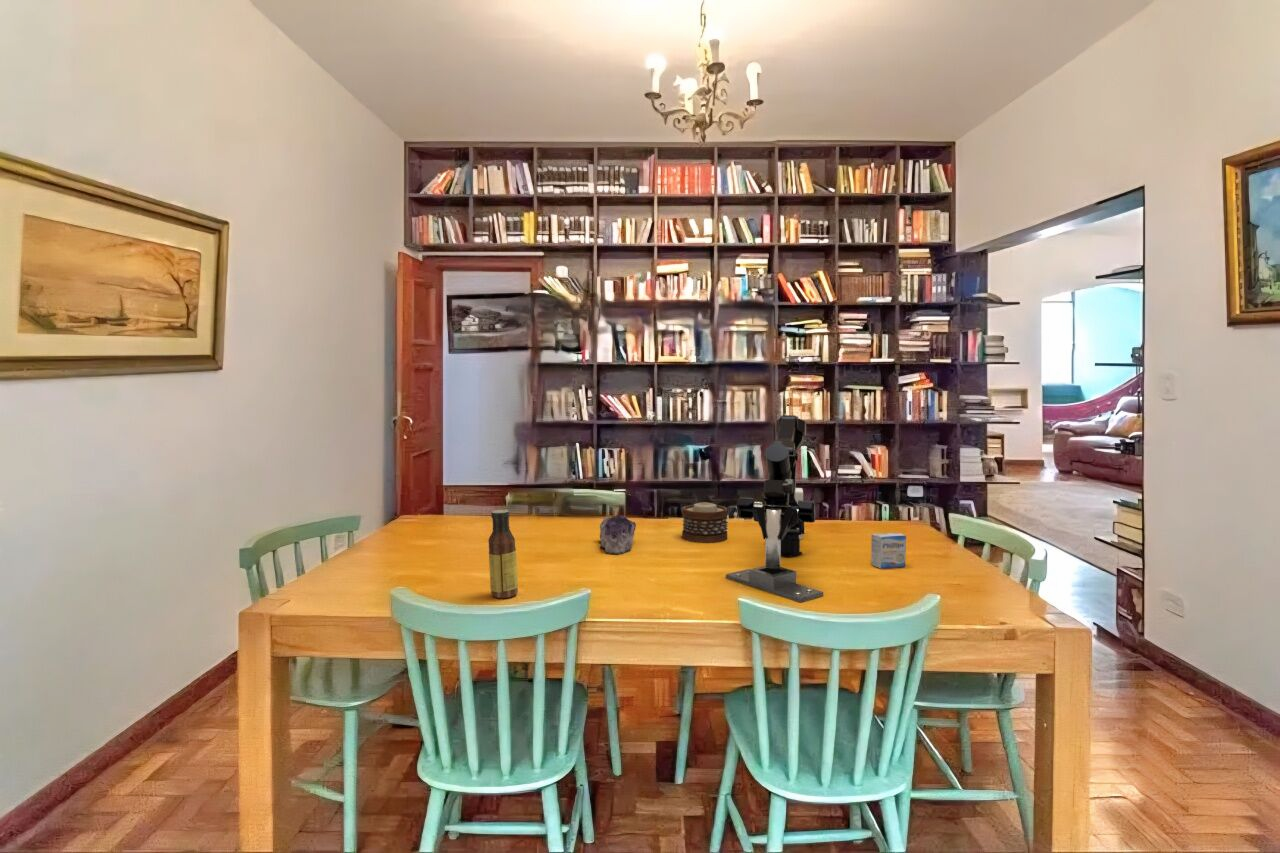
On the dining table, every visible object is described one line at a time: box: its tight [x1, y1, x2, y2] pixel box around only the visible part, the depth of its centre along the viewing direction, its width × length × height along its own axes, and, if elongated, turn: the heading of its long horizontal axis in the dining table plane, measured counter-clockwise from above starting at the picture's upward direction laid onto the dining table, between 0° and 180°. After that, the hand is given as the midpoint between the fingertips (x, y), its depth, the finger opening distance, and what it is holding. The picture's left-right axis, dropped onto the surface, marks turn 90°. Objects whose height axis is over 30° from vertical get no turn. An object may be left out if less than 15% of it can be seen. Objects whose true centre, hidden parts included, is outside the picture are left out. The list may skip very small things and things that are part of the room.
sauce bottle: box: [487, 509, 519, 599], centre depth 163 cm, size 7×6×20 cm
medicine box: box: [870, 532, 907, 570], centre depth 189 cm, size 8×4×9 cm, turn 105°
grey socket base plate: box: [725, 565, 824, 603], centre depth 171 cm, size 24×8×4 cm, turn 37°
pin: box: [764, 508, 782, 569], centre depth 170 cm, size 4×4×14 cm
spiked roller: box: [681, 501, 730, 544], centre depth 222 cm, size 15×11×15 cm
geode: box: [599, 514, 637, 556], centre depth 210 cm, size 20×12×10 cm, turn 3°
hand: (772, 539), depth 169 cm, fingers closed on pin, 4 cm apart
